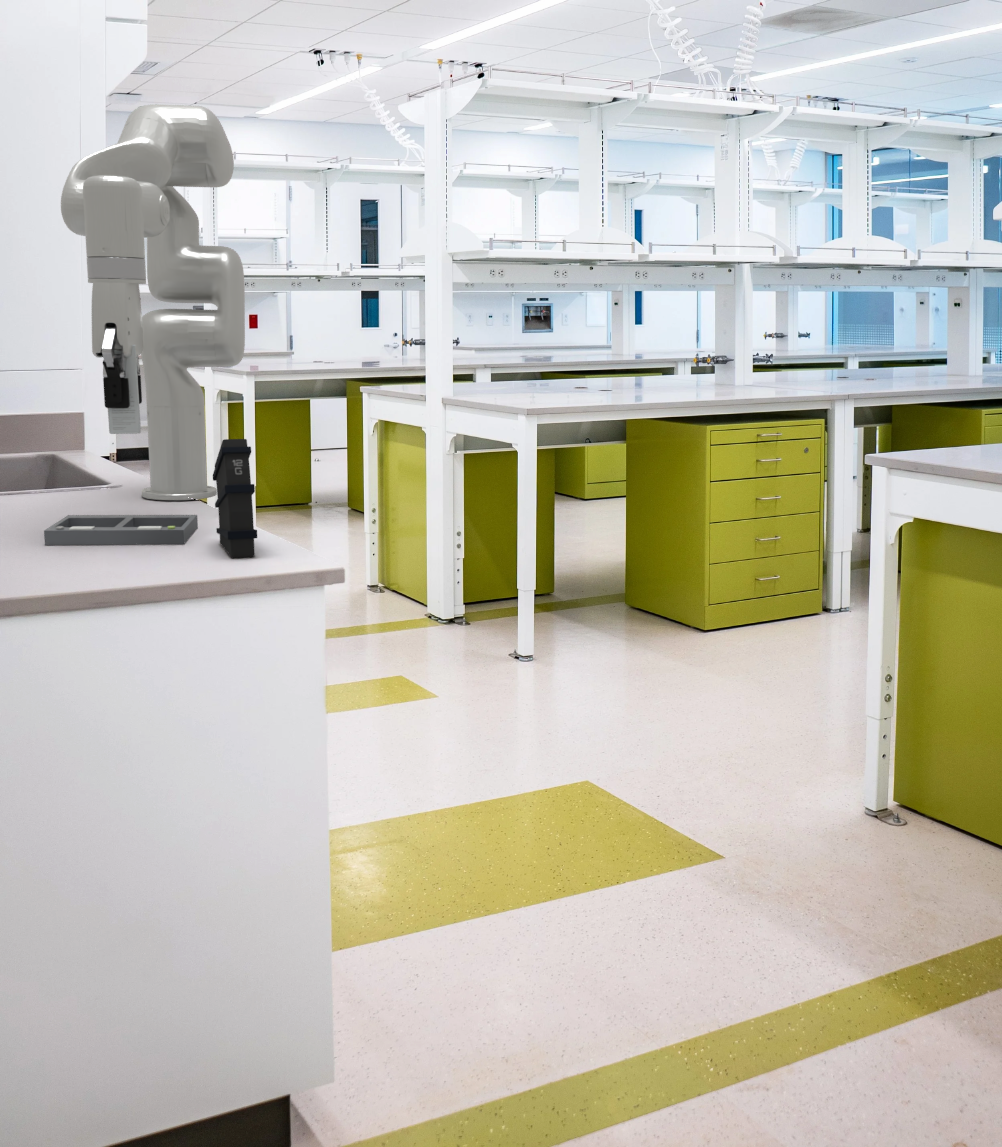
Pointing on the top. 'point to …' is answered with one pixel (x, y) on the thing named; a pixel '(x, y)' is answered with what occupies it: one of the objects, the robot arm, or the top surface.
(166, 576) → the top surface
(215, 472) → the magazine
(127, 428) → the skincare box
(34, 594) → the top surface
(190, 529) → the socket panel
